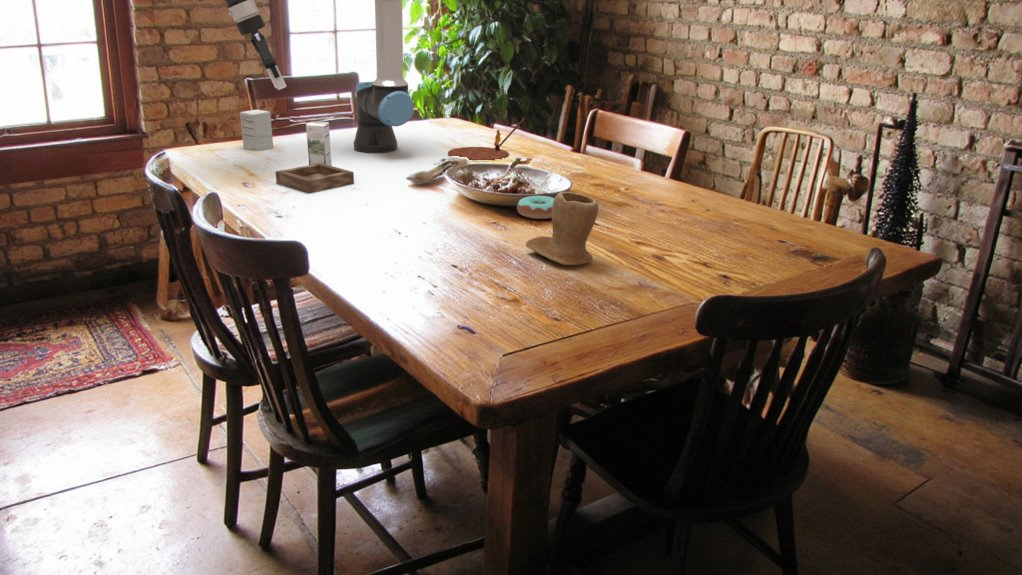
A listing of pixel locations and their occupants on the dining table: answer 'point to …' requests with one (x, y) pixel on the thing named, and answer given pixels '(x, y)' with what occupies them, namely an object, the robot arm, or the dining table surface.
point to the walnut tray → (314, 177)
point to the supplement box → (256, 130)
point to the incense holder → (483, 150)
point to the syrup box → (318, 143)
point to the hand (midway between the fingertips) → (281, 87)
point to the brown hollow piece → (568, 230)
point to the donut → (536, 207)
